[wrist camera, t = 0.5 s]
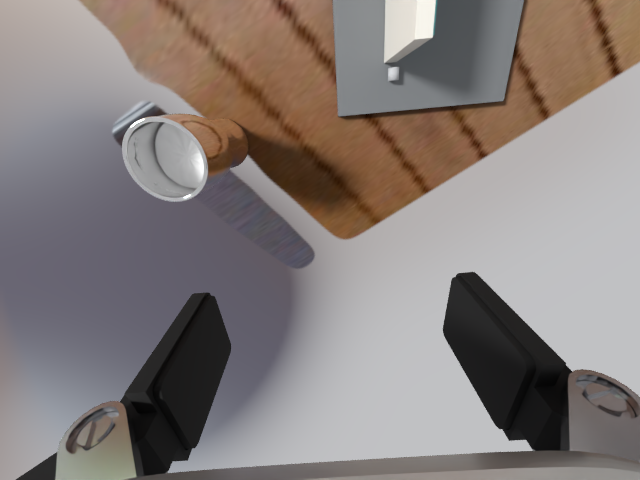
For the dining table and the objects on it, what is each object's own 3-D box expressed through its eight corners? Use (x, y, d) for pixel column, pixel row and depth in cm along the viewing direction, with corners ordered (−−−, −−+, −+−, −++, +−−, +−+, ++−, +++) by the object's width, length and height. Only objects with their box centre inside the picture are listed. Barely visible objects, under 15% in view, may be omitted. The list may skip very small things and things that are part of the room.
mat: (326, -122, 24) (327, -146, 22) (545, -147, 23) (568, -174, 21) (338, 116, 32) (339, 116, 30) (497, 101, 32) (510, 100, 30)
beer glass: (258, 128, 33) (219, 137, 20) (243, 178, 36) (200, 216, 22) (204, 104, 32) (122, 96, 18) (193, 158, 34) (115, 185, 21)
